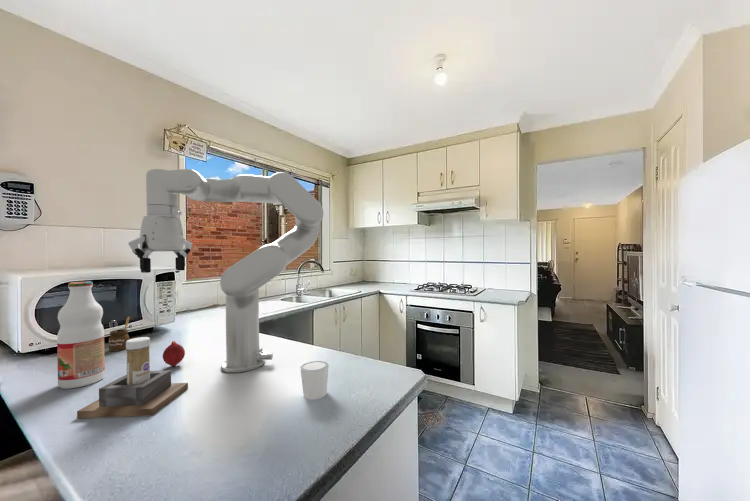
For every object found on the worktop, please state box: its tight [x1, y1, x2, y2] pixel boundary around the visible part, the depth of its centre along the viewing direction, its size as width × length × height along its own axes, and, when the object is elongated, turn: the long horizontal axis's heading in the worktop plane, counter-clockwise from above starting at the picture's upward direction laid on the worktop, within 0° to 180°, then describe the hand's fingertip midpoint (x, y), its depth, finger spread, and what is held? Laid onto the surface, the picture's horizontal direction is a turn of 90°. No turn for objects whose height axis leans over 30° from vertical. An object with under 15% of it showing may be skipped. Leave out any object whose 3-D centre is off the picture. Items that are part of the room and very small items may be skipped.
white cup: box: [300, 360, 330, 401], centre depth 74 cm, size 7×7×7 cm
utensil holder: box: [108, 316, 131, 352], centre depth 114 cm, size 6×6×12 cm
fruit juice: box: [56, 280, 106, 390], centre depth 84 cm, size 9×9×28 cm
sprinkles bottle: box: [125, 336, 151, 385], centre depth 72 cm, size 5×5×14 cm
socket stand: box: [76, 369, 189, 419], centre depth 72 cm, size 16×13×6 cm
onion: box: [162, 340, 186, 367], centre depth 94 cm, size 6×6×8 cm
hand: (163, 271), depth 88 cm, fingers open, 9 cm apart
